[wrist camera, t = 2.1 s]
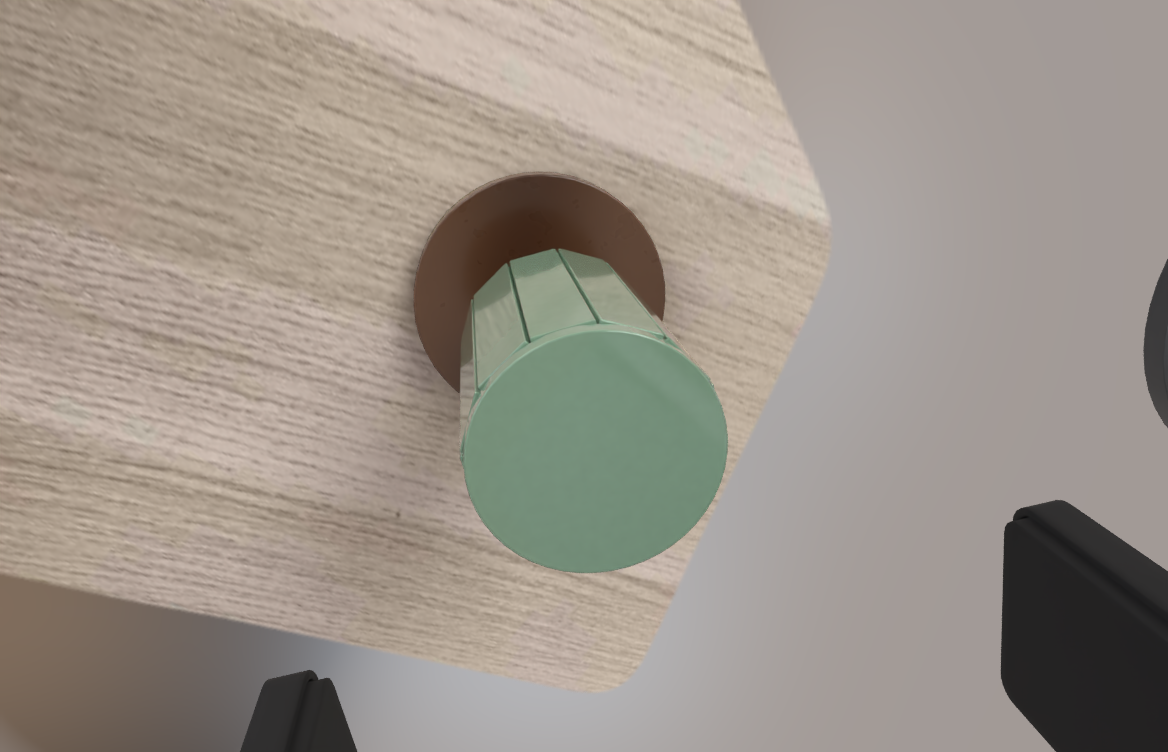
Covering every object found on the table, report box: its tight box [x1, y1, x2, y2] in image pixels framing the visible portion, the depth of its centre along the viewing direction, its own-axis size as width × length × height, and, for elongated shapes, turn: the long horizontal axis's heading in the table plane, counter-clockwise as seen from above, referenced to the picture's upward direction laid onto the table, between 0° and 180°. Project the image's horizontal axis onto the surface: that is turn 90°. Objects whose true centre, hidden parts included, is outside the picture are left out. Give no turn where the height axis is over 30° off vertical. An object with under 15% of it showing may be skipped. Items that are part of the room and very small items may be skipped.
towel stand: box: [414, 172, 665, 393], centre depth 28 cm, size 11×11×16 cm
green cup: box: [460, 248, 728, 573], centre depth 25 cm, size 7×7×10 cm
